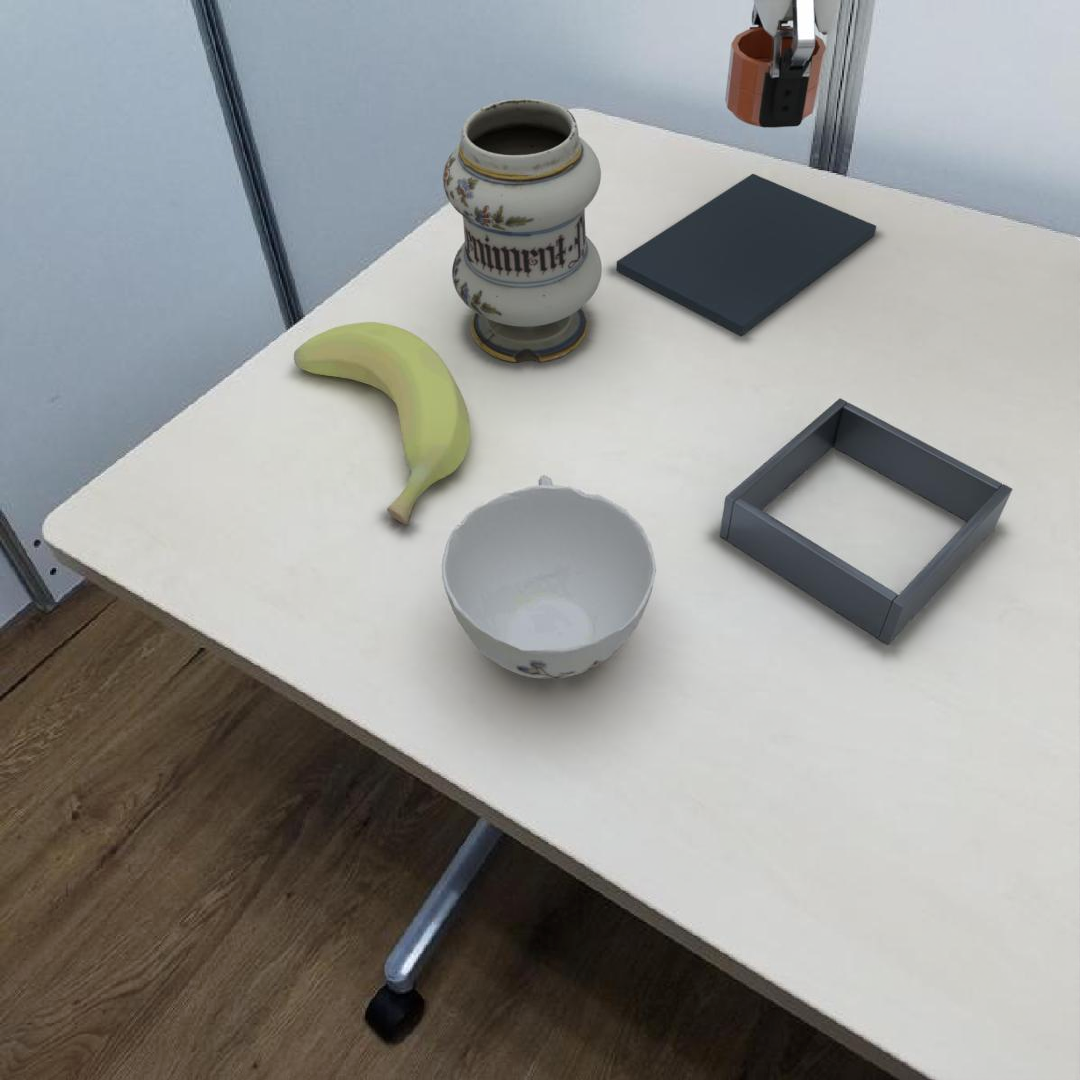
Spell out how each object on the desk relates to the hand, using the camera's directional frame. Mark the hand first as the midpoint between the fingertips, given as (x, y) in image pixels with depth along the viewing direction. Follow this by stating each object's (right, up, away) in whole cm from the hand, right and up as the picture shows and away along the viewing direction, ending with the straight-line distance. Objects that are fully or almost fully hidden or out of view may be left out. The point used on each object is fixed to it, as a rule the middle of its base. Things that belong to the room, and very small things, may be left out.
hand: (771, 99), depth 80 cm
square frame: (+4, -34, -10) cm, 36 cm away
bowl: (0, -1, +1) cm, 1 cm away
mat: (+1, -9, +12) cm, 15 cm away
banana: (-30, -27, -2) cm, 41 cm away
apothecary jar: (-19, -17, +6) cm, 26 cm away
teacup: (-18, -41, -14) cm, 46 cm away
